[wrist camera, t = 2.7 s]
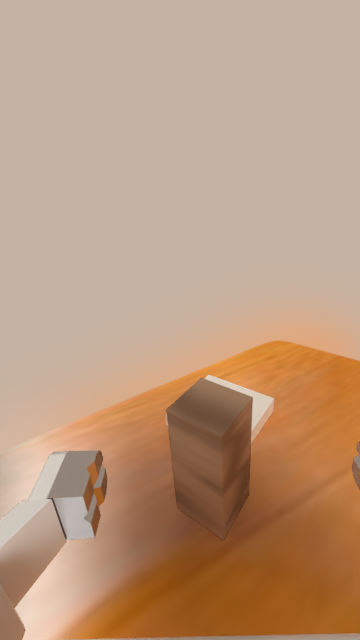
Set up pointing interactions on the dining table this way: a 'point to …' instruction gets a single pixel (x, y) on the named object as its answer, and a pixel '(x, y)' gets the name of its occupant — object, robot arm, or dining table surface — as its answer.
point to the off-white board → (260, 405)
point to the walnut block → (211, 453)
